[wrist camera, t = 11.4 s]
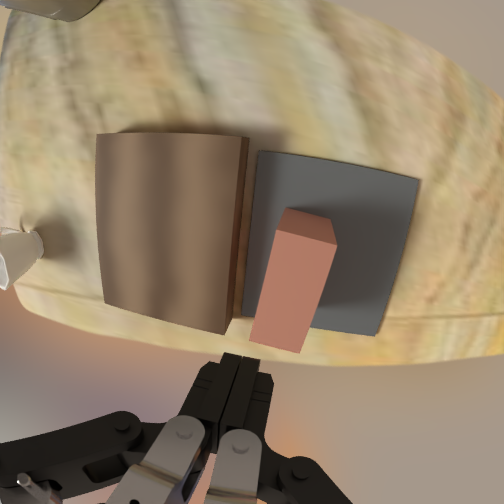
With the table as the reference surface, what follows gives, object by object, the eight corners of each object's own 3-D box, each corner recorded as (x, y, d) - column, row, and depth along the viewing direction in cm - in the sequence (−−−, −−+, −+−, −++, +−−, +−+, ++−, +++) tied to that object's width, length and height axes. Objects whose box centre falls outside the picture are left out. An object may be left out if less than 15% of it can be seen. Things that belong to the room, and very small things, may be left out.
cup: (48, 276, 35) (9, 300, 27) (11, 242, 35) (-26, 260, 27) (52, 235, 32) (8, 257, 25) (14, 203, 32) (-27, 218, 24)
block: (248, 340, 22) (299, 353, 22) (276, 229, 19) (337, 245, 18) (263, 297, 28) (303, 307, 28) (285, 207, 25) (330, 219, 25)
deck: (118, 291, 32) (104, 303, 30) (114, 133, 26) (96, 134, 23) (231, 318, 30) (224, 335, 28) (249, 137, 24) (241, 136, 21)
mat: (242, 312, 30) (241, 315, 30) (259, 150, 24) (258, 150, 24) (374, 334, 28) (374, 336, 28) (417, 179, 22) (418, 180, 22)
